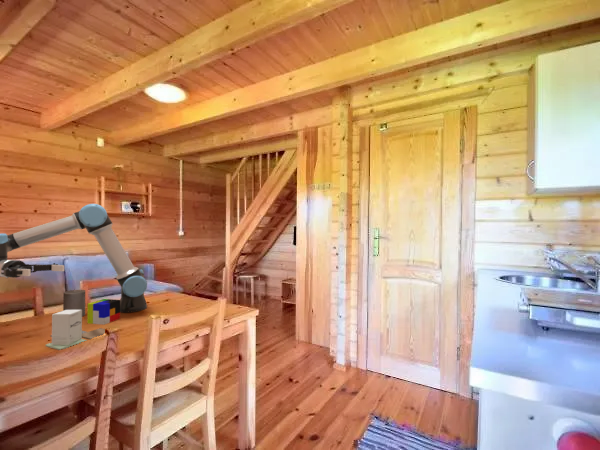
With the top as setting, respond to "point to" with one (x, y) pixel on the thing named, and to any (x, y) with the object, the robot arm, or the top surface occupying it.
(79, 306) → the pillar candle
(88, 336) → the walnut pad
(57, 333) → the supplement box
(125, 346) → the top surface
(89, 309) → the puzzle toy
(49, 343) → the sage pad
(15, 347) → the top surface
